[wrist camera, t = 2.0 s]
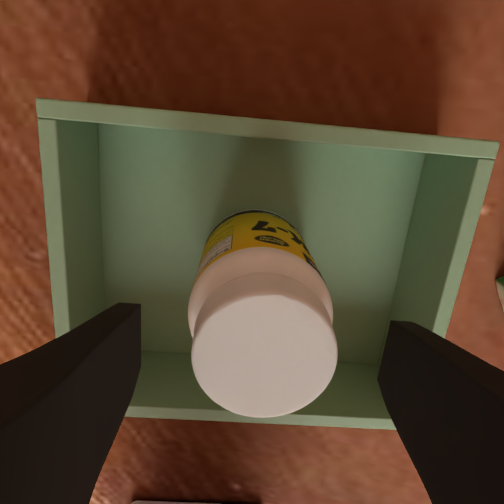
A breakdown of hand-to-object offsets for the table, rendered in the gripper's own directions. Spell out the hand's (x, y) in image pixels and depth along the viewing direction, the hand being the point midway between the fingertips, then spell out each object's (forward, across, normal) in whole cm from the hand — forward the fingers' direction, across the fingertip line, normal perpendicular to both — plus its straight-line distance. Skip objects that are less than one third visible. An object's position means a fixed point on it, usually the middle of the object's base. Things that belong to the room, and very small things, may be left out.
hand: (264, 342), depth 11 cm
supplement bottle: (+8, 0, 0) cm, 8 cm away
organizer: (+8, 0, 0) cm, 8 cm away
